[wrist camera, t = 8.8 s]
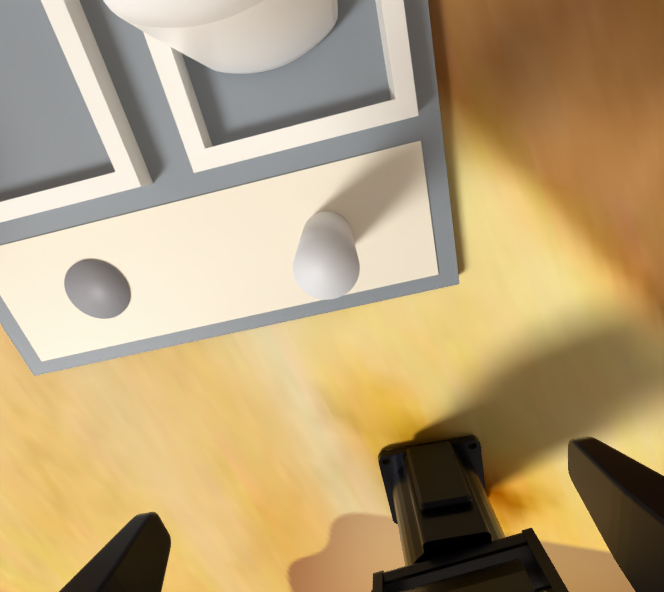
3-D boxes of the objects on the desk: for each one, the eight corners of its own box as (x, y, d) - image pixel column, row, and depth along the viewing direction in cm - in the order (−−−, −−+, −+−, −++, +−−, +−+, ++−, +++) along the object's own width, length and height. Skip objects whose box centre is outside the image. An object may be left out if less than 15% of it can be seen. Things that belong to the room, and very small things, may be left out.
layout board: (454, 278, 20) (501, 330, 14) (44, 367, 22) (-52, 443, 16) (400, -191, 13) (450, -427, 8) (-187, 0, 15) (-479, -81, 10)
